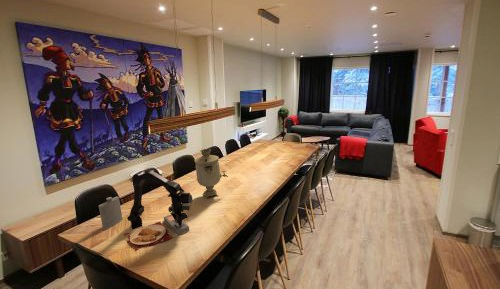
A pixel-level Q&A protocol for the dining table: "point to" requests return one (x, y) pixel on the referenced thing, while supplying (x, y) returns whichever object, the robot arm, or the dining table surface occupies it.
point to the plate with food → (148, 235)
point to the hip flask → (110, 212)
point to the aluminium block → (178, 224)
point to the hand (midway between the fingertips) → (179, 224)
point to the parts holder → (171, 224)
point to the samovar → (208, 172)
